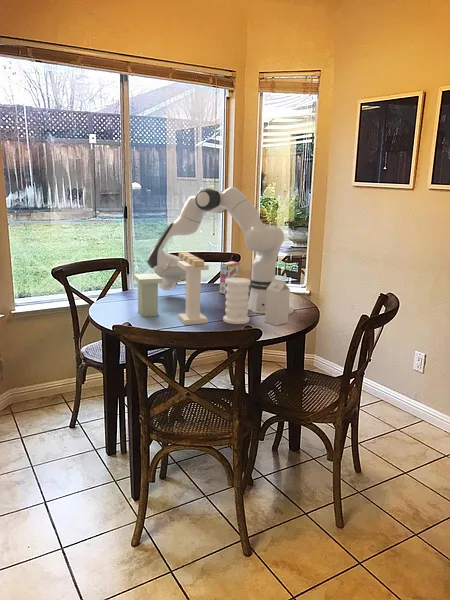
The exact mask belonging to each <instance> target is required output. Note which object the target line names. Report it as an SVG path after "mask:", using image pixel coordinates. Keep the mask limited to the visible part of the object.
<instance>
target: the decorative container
mask: <svg viewBox="0 0 450 600" xmlns="http://www.w3.org/2000/svg"><path fill="white" fill-rule="evenodd" d="M250 280H251V279H249V278H246V277H245V278H244V277H238V278H227V279H225V283H226V284H227V287H226V291H227V294H226V295H225V303H224V304H225V309H224V313H225V314H224V315H223V316H222V321H223V322H225V323H227V324H232V325H244V324H247V323H250V317H249V316H248V313H249V309H248V305H249V303H248V301H249V297H250V294H249V293H250Z"/></svg>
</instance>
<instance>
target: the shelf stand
mask: <svg viewBox="0 0 450 600" xmlns="http://www.w3.org/2000/svg"><path fill="white" fill-rule="evenodd" d="M177 266H179V267H180V268H182V269H183V270H185V271H186V281H185V313H178V315H177V317H178V320H179V321H180V322H181V323H182V324H183V325H184V326H189V325H199V324H201V325H202V324H208V318H207V317H206V316H205V315H204V314H203V313H201V285H202V284H201V280H202V271H209V270H210V269H209V267H210V266H209V264H207V263H205V262H204V267H194V266H192V265H190V264H189V263H187V262H185V261H184V260H183V261H177Z"/></svg>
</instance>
